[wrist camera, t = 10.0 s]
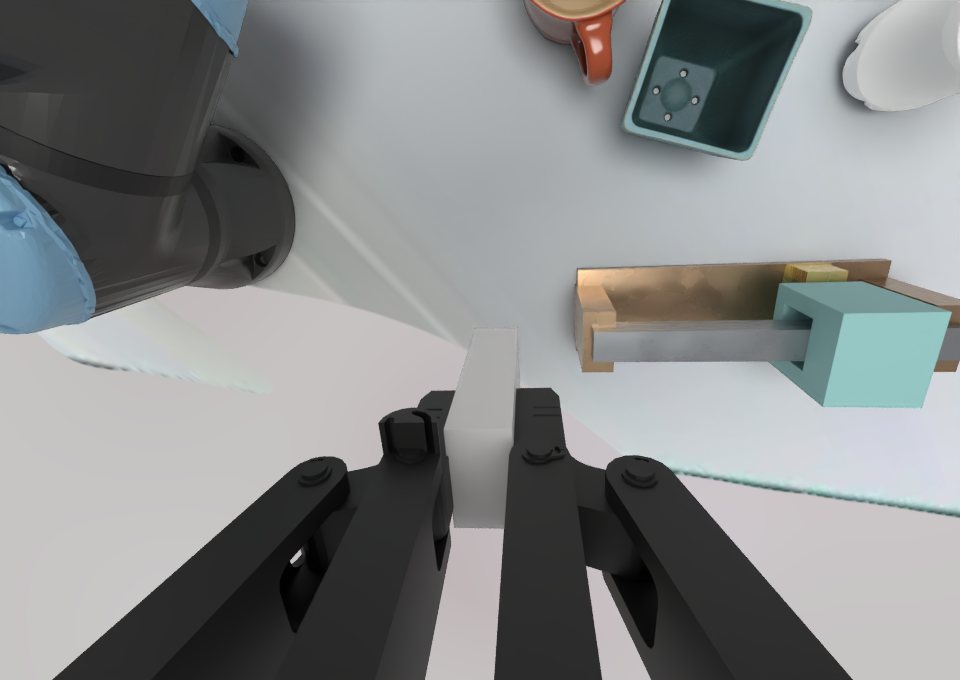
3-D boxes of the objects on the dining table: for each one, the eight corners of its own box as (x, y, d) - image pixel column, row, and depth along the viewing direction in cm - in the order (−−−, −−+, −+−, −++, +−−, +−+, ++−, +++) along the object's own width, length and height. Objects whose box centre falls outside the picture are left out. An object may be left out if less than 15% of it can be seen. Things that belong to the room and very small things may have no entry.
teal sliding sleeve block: (766, 359, 38) (822, 406, 31) (779, 283, 36) (844, 313, 29) (843, 359, 38) (921, 408, 30) (862, 281, 35) (951, 311, 28)
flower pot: (641, 18, 35) (673, -29, 27) (752, 46, 35) (818, 7, 27) (603, 138, 39) (621, 128, 30) (704, 164, 38) (750, 162, 30)
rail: (573, 348, 45) (583, 394, 36) (575, 268, 43) (585, 296, 33) (865, 345, 42) (961, 396, 32) (887, 259, 39) (998, 286, 30)
